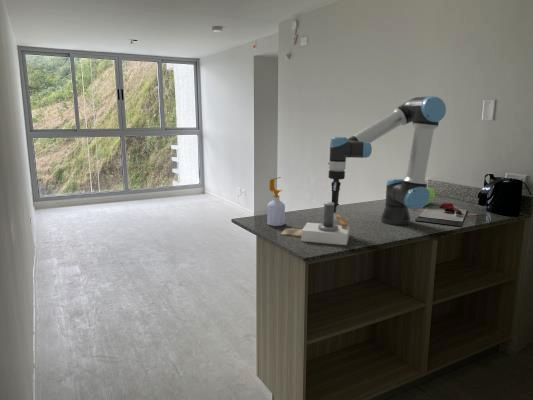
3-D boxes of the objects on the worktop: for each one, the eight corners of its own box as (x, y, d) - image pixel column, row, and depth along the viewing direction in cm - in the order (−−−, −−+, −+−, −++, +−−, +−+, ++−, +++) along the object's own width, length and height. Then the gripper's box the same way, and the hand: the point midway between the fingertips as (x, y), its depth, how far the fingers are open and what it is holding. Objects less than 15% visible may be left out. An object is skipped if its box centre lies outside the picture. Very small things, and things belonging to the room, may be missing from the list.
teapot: (404, 206, 255) (406, 184, 252) (397, 200, 274) (398, 179, 271) (435, 207, 254) (437, 184, 251) (425, 201, 273) (427, 179, 270)
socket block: (348, 236, 192) (349, 223, 190) (346, 245, 178) (347, 231, 177) (306, 232, 197) (307, 219, 195) (301, 241, 183) (301, 227, 182)
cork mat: (305, 230, 200) (305, 229, 200) (302, 236, 190) (302, 235, 190) (285, 229, 202) (285, 228, 202) (281, 234, 193) (281, 233, 193)
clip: (348, 225, 185) (348, 222, 185) (342, 225, 185) (342, 222, 184) (339, 217, 200) (339, 214, 199) (334, 217, 200) (334, 214, 199)
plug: (340, 238, 188) (341, 202, 185) (334, 243, 180) (335, 205, 177) (321, 235, 192) (322, 200, 189) (314, 240, 184) (316, 203, 181)
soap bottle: (279, 227, 206) (279, 178, 201) (263, 224, 210) (264, 177, 205) (287, 223, 213) (288, 176, 208) (272, 221, 218) (273, 175, 213)
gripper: (330, 168, 199) (327, 215, 204) (327, 171, 187) (324, 221, 192) (346, 169, 197) (342, 216, 202) (343, 172, 185) (340, 222, 190)
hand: (333, 218), depth 197 cm, fingers closed
